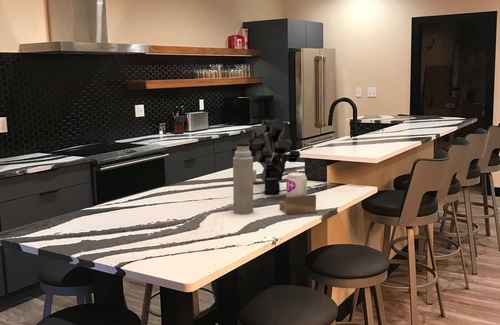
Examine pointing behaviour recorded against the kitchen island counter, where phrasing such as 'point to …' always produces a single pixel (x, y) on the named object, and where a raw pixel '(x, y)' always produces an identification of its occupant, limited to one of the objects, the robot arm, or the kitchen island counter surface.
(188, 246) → the kitchen island counter surface
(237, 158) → the thermos bottle
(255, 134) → the robot arm
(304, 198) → the walnut dock
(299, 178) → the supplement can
